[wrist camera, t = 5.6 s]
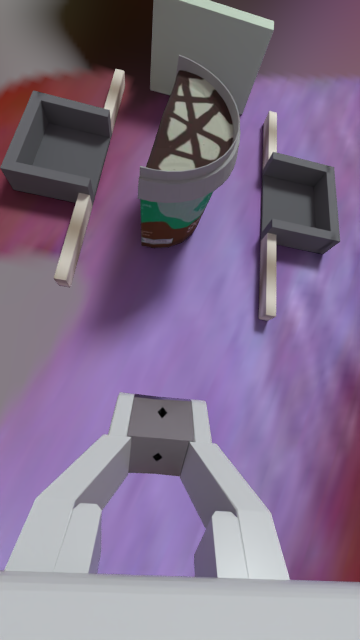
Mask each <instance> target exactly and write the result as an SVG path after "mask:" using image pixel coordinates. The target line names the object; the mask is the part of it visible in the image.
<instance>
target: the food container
mask: <svg viewBox="0 0 360 640" xmlns="http://www.w3.org/2000/svg"><path fill="white" fill-rule="evenodd" d="M239 142H240V118H239V111H238V108H237V105H236V103H235V101H234V99H233V97H232V95H231V93H230V92H229V90H228V89H227V88H226V86H225V85H224V84H223V83H222V82H221V81H220V80H219V79H218V78H217V77H216V76H215V75H214V74H213V73H211V72H210V71H209V70H207V69H206V68H204V67H203V66H201V65H200V64H198V63H196V62H194V61H192V60H190V59H188V58H186V57H183V56H181V55H179V58H178V66H177V73H176V80H175V84H174V87H173V89H172V92H171V95H170V98H169V100H168V103H167V105H166V108H165V110H164V113H163V116H162V119H161V122H160V126H159V129H158V132H157V136H156V139H155V142H154V145H153V148H152V151H151V154H150V157H149V160H148V163H147V166H146V167H142V166H140V177H139V184H138V199H140V203H141V244H142V246H146V247H151V248H162V247H170V246H173V245H176V244H179V243H182V242H183V241H184V240H185V239H187V238H188V237H189V236H191V235H192V233H193V231H194V230H195V228H196V227H197V225H198V222H199V220H200V218H201V216H202V214H203V212H204V210H205V208H206V206H207V204H208V202H209V199H210V197H211V195H212V193H213V191H215V190H216V189H217V188H218V187H220V186H221V185H222V184H223V183H224V182H225V181H226V180H227V178H228V177H229V176H230V174H231V172H232V170H233V169H234V165H235V162H236V158H237V153H238V147H239Z"/></svg>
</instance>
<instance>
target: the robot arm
mask: <svg viewBox="0 0 360 640" xmlns="http://www.w3.org/2000/svg"><path fill="white" fill-rule="evenodd" d="M128 473H150V474H154V473H155V474H162V475H172V476H180V479H181V481H182V483H183V485H184V487H185V489H186V491H187V493H188V495H189V497H190V499H191V501H192V503H193V505H194V507H195V509H196V511H197V513H198V515H199V517H200V518H201V520H202V522H203V524H204V526H205V528H206V530H205V533H204V535H203V537H202V539H201V541H200V543H199V545H198V548H197V550H196V552H195V554H194V568H195V577H184V576H153V575H123V574H97V572H98V566H99V561H100V555H101V515H102V510H103V509H104V507H105V506H106V504H107V503H108V502H109V500H110V499H111V497H112V496H113V495H114V493H115V492H116V491H117V489H118V488H119V486H120V485H121V484H122V482H123V481H124V479H125V478H126V477H127V475H128ZM0 640H360V582H335V581H305V580H290V579H289V575H288V572H287V568H286V565H285V561H284V558H283V554H282V551H281V547H280V544H279V540H278V537H277V533H276V530H275V526H274V523H273V519H272V516H271V513H270V511H269V510H268V509H267V508H266V506H265V505H264V504H263V502H262V501H261V500H260V499H259V497H258V496H257V495H256V494H255V492H254V491H253V490H252V488H251V487H250V486H249V485H248V483H247V482H246V481H245V480H244V478H243V477H242V476H241V475H240V473H239V472H238V471H237V469H236V468H235V467H234V466H233V464H232V463H231V462H230V461H229V459H228V458H227V457H226V455H225V454H224V453H223V452H222V450H221V449H220V448H219V447H218V445H217V444H213V443H212V440H211V433H210V426H209V419H208V412H207V405H206V402H205V401H201V400H190V399H179V398H168V397H156V396H148V395H139V394H129V393H121V392H120V393H119V395H118V398H117V402H116V406H115V410H114V414H113V418H112V421H111V425H110V429H109V433H108V435H102V436H101V437H100V438H99V439H98V440H97V441H96V442H95V443H94V444H93V445H92V446H91V447H90V448H89V449H87V450H86V451H85V452H84V453H83V454H82V455H81V456H80V457H79V458H78V459H77V460H76V461H75V462H74V463H73V464H72V465H71V466H70V467H68V468H67V469H66V470H65V471H64V472H63V473H62V474H61V475H60V476H59V477H58V478H57V479H56V480H55V481H54V482H53V483H52V484H50V485H49V486H48V487H47V488H46V489H45V490H44V491H43V492H42V493H41V494H40V495H39V496H38V497H37V498H36V499H35V501H34V504H33V506H32V508H31V510H30V513H29V515H28V517H27V520H26V522H25V524H24V526H23V529H22V531H21V533H20V536H19V538H18V540H17V542H16V545H15V547H14V549H13V552H12V554H11V556H10V558H9V561H8V563H7V565H6V568H5V570H4V571H1V570H0Z"/></svg>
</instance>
